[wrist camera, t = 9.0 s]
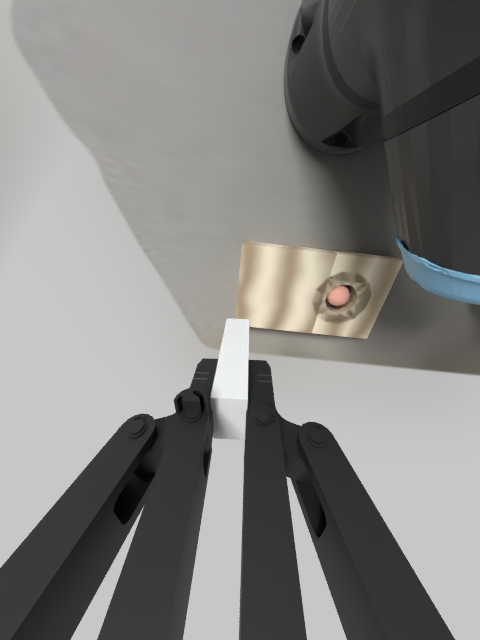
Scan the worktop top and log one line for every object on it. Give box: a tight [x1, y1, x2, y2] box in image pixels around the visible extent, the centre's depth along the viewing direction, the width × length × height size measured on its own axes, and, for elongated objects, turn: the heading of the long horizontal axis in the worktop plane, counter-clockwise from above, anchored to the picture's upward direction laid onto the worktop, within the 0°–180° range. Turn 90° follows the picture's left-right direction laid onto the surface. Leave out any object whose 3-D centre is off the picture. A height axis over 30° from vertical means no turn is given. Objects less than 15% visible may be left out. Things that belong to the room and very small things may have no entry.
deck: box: [235, 241, 403, 339], centre depth 35 cm, size 24×14×2 cm, turn 84°
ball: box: [326, 285, 350, 306], centre depth 34 cm, size 4×4×4 cm
